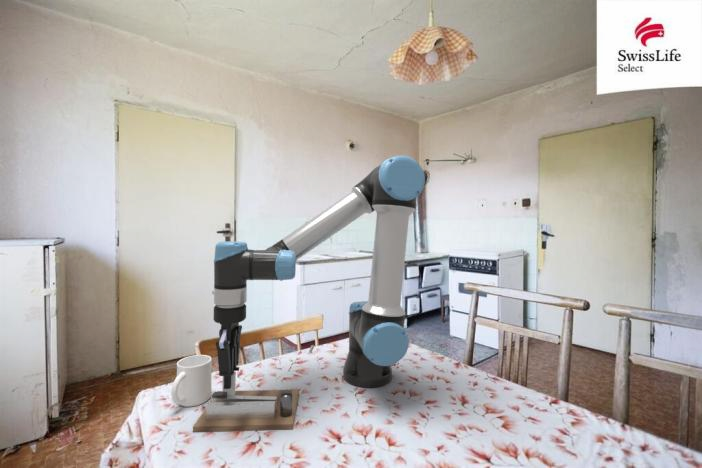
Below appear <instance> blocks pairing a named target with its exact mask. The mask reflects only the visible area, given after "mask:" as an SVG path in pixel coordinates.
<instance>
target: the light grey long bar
mask: <svg viewBox="0 0 702 468" xmlns="http://www.w3.org/2000/svg"><path fill="white" fill-rule="evenodd" d="M211 400H212V402H251V401H276V406H275V412H276V410H277V397H273V396H235V395H227V392H217V391H214V392H213V393H211Z"/></svg>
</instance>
